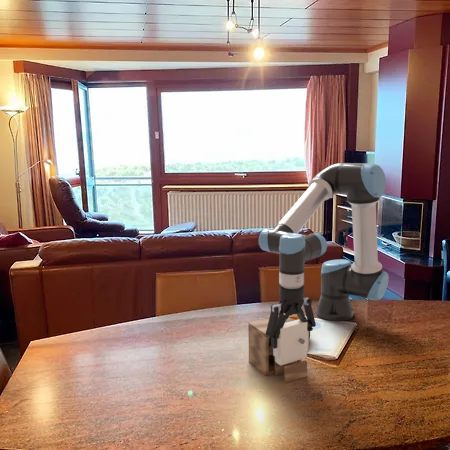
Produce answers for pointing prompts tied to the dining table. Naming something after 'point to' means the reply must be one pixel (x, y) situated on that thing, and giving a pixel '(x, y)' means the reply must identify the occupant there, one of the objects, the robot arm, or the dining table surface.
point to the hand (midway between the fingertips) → (290, 352)
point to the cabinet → (271, 353)
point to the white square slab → (292, 342)
